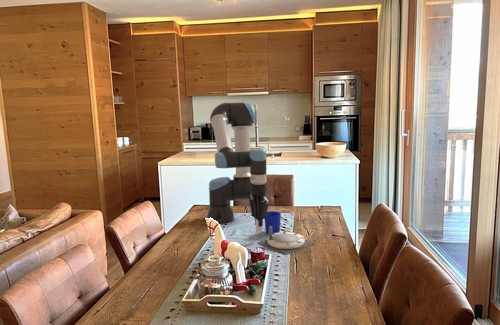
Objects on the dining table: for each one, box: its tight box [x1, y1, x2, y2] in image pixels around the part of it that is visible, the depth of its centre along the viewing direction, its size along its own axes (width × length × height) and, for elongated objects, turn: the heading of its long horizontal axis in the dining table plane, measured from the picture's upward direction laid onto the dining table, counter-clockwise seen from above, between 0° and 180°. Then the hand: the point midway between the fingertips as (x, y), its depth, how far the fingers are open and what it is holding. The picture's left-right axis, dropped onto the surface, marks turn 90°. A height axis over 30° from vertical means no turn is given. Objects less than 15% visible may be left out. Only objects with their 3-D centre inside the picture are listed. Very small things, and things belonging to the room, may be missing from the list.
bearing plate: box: [257, 229, 315, 255], centre depth 172 cm, size 18×18×3 cm
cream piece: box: [267, 226, 306, 249], centre depth 172 cm, size 17×17×8 cm
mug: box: [264, 210, 282, 235], centre depth 188 cm, size 8×12×10 cm
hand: (259, 232), depth 176 cm, fingers closed
